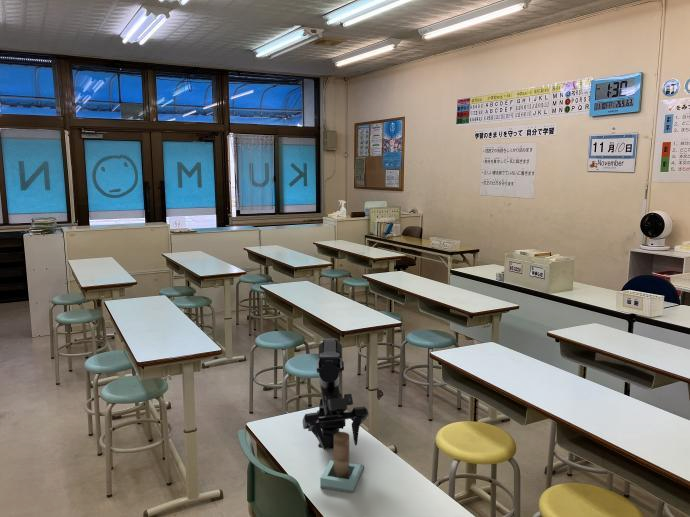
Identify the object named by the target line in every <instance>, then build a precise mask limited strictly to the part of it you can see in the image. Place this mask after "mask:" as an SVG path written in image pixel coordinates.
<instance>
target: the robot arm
mask: <svg viewBox="0 0 690 517" xmlns="http://www.w3.org/2000/svg"><path fill="white" fill-rule="evenodd" d="M316 361H317V362H316V373H318V376H319V378H318V379H319V386H320V393H321V398H320V400H319V404H318V405H319V406H318V408H319V409H318V410H316V411H315V412H309V413H305V414H304V415H303V418H302V428H303V430H307V431H308V432H311V433H313V435H314V436H315V438H316V439H317V441H318V442H319V443H318V445H317V447H318V448H322V449H323V450H324V451H325V450H326V449H332V450H334V434H335V433H337V432H340V429H342V430H344V428H345V427H346V421H347V420H351V421H352V423H351V430H352V436H353V442H354V446H357V445H358V438H359V430H360V426H361V424H363V422H364V421H366V420H367V418H368V417H369V411H368V408H367V407H366V406H357V407H352V410H351V411H348V412H347V410H348V406H352V405H353V404H354V400H353V394H352V393H344V395H342V393H341V388H340V387H341V386H340V374H341V373H343V371H344V370H345V363H344V360H343V345H342V343H340V342H339V341H338V338H333V337H328V338H327V337H326V338H323V339H322V342H321V343H320V344H319V345H318V358H317V359H316Z"/></svg>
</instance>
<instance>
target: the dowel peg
mask: <svg viewBox="0 0 690 517" xmlns="http://www.w3.org/2000/svg"><path fill="white" fill-rule="evenodd" d="M333 461H334V477H337V478H343V479H349V463H350V435H349V433H348V432H344V431H339V432H337V433H335V434H334V449H333Z"/></svg>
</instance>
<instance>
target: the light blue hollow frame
mask: <svg viewBox="0 0 690 517" xmlns="http://www.w3.org/2000/svg"><path fill="white" fill-rule="evenodd" d="M364 468H365V464H363V463H362V464H360V463H354V462H349V479H343V478H337V477H334V459H333V460H332V459H330V460H329V461H328V463H327V465H326V466H325V468H324V470H323V473H321V474H322V475H320V478H319V479H320V480H319V481H320V483H319V484H320V486H319V487H320V489H326V490H331V491H332V490H333V491H337V492H344V493H349V494H354V492H355V489H356V488H357V484H358V483H359V480H360V477H361V475H362V473H363V471H364Z"/></svg>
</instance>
